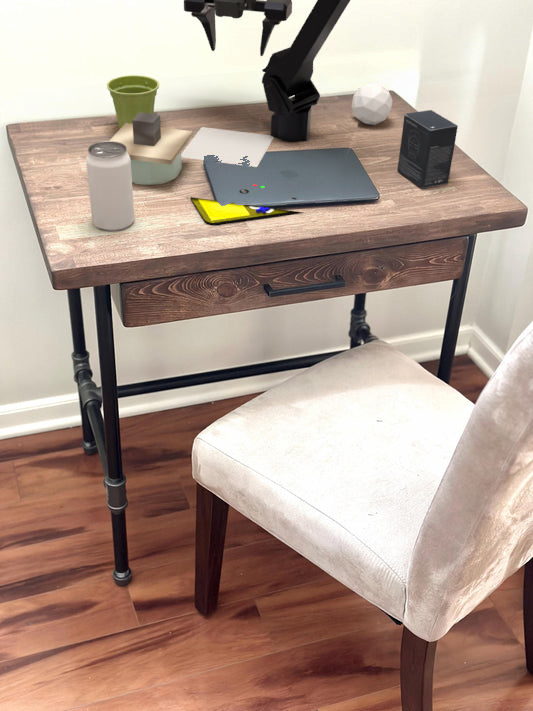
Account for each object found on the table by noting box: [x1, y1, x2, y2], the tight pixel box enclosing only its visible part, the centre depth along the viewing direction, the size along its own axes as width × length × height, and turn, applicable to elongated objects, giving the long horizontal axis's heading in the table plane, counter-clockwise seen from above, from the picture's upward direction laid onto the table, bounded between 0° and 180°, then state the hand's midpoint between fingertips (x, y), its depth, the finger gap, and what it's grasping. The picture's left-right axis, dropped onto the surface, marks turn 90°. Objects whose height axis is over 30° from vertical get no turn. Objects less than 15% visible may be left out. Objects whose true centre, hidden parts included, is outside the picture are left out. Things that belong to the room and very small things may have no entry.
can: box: [85, 140, 135, 232], centre depth 130 cm, size 6×6×12 cm
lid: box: [108, 113, 194, 165], centre depth 142 cm, size 12×12×5 cm
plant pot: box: [106, 74, 160, 130], centre depth 160 cm, size 9×9×9 cm
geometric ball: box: [350, 82, 394, 126], centre depth 167 cm, size 8×8×8 cm
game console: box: [190, 184, 304, 227], centre depth 140 cm, size 18×11×2 cm, turn 111°
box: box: [397, 109, 459, 189], centre depth 147 cm, size 8×6×11 cm
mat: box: [181, 126, 275, 168], centre depth 156 cm, size 14×14×1 cm
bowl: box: [130, 151, 183, 186], centre depth 146 cm, size 10×10×6 cm
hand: (237, 52), depth 160 cm, fingers open, 9 cm apart
